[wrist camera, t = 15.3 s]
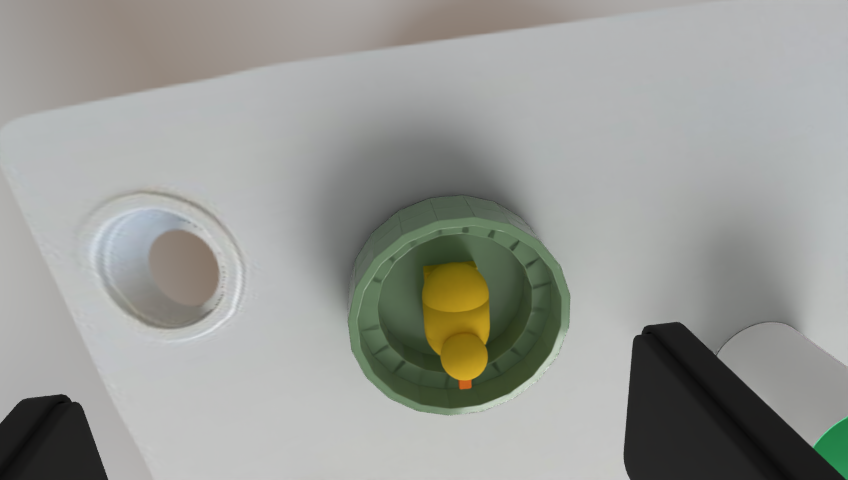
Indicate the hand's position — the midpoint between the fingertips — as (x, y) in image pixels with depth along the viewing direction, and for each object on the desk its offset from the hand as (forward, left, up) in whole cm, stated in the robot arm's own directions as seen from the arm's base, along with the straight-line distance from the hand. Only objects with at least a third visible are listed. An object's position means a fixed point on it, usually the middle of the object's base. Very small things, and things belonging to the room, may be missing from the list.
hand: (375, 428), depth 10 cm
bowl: (+12, +5, -28) cm, 31 cm away
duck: (+12, +5, -28) cm, 31 cm away
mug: (+22, +28, -28) cm, 46 cm away
